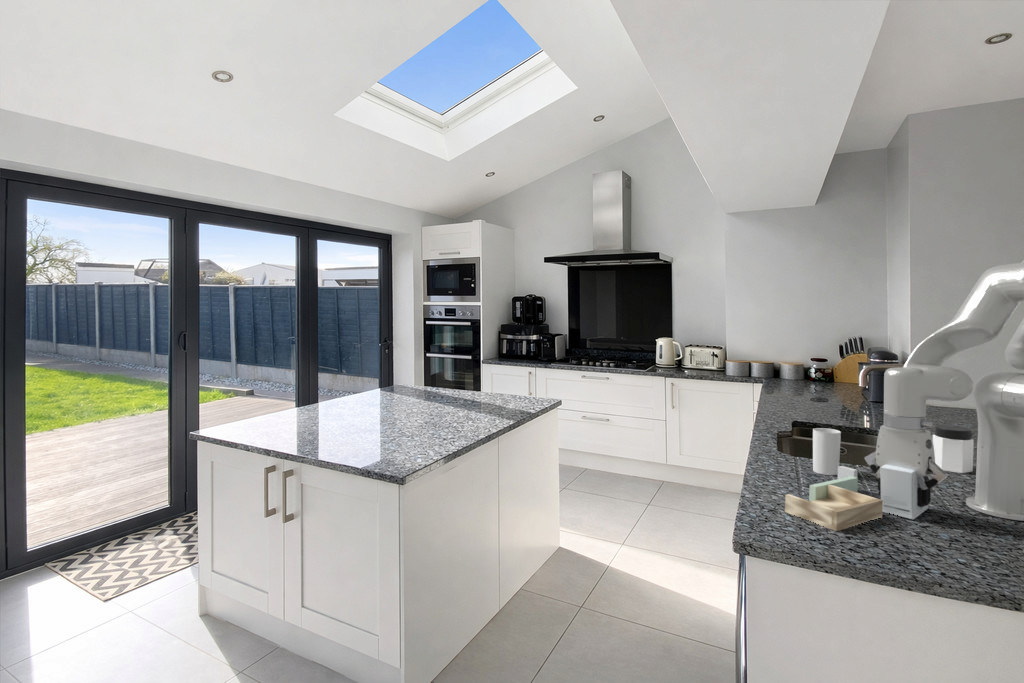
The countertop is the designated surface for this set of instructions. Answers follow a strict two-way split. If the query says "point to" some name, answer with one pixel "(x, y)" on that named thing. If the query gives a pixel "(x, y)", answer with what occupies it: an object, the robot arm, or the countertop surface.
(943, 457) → the jar
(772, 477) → the countertop surface
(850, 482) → the gate
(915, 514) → the skincare box
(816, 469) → the mug
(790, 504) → the wooden tray
